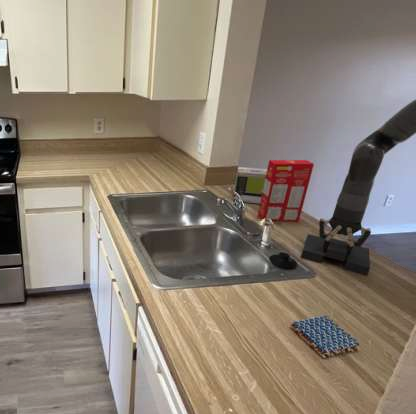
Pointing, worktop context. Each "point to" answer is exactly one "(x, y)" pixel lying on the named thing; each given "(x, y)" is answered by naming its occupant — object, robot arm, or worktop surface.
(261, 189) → the tea box
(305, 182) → the food packaging
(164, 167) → the worktop surface
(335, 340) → the woven mat
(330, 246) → the plug pad
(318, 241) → the socket pad
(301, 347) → the worktop surface
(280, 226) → the worktop surface
